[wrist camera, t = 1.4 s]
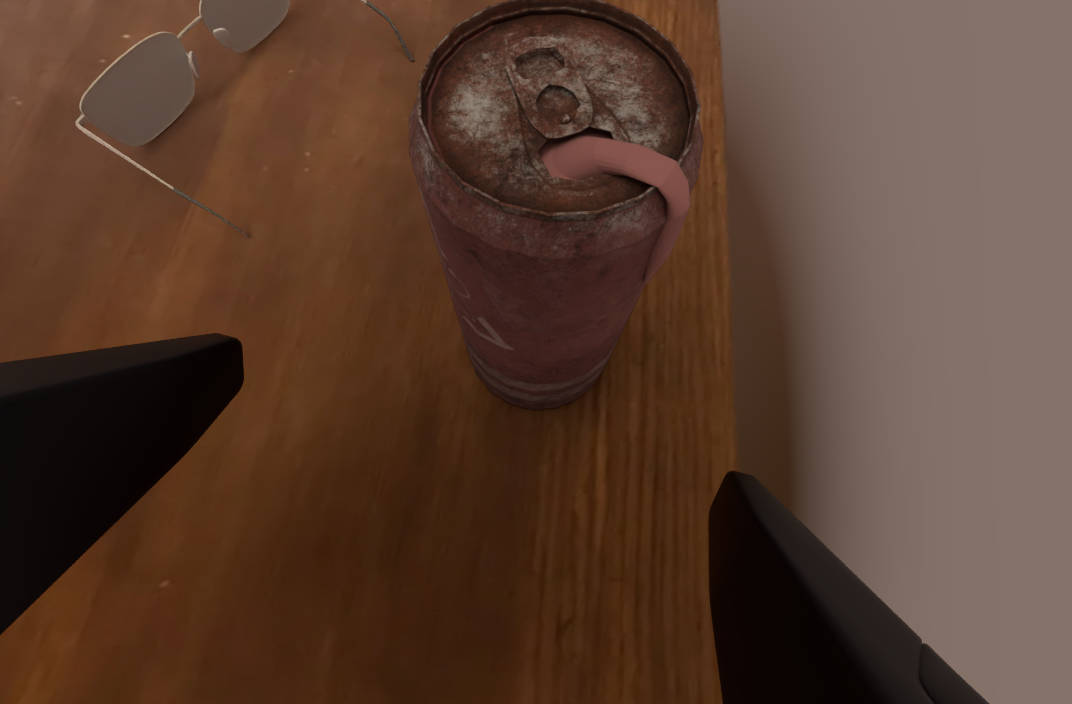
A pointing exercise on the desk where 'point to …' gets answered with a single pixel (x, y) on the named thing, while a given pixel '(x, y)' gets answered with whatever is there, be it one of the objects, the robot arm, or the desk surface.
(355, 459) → the desk surface
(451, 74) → the can
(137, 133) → the eyeglasses
